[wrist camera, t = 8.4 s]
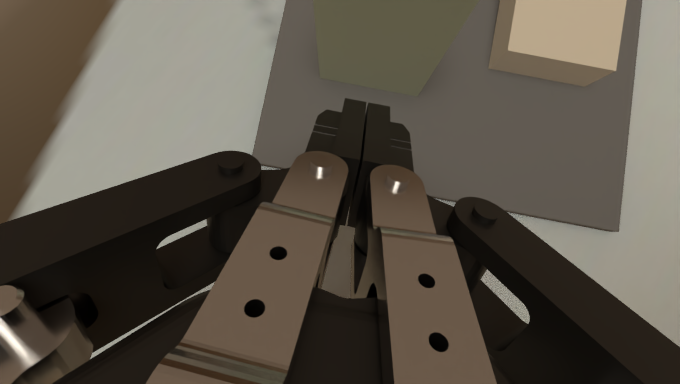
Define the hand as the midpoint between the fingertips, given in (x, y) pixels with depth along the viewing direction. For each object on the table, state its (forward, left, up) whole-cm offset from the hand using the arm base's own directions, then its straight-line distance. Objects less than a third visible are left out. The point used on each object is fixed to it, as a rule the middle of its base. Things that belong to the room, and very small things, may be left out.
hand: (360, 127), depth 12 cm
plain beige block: (-10, -8, -7) cm, 15 cm away
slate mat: (-5, -7, -9) cm, 13 cm away
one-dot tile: (0, -6, -9) cm, 11 cm away
